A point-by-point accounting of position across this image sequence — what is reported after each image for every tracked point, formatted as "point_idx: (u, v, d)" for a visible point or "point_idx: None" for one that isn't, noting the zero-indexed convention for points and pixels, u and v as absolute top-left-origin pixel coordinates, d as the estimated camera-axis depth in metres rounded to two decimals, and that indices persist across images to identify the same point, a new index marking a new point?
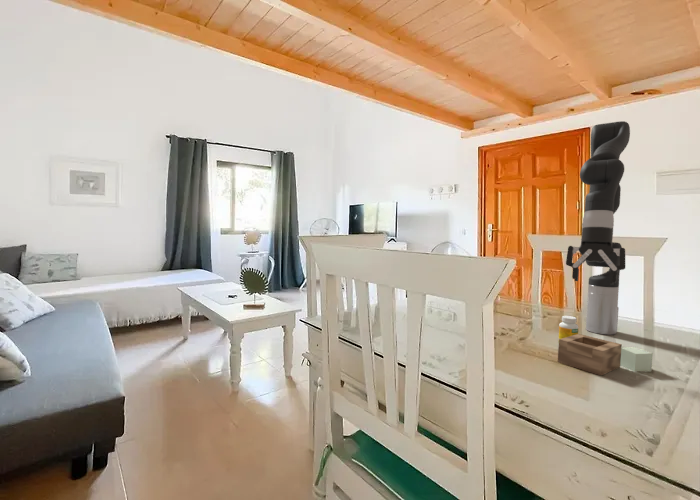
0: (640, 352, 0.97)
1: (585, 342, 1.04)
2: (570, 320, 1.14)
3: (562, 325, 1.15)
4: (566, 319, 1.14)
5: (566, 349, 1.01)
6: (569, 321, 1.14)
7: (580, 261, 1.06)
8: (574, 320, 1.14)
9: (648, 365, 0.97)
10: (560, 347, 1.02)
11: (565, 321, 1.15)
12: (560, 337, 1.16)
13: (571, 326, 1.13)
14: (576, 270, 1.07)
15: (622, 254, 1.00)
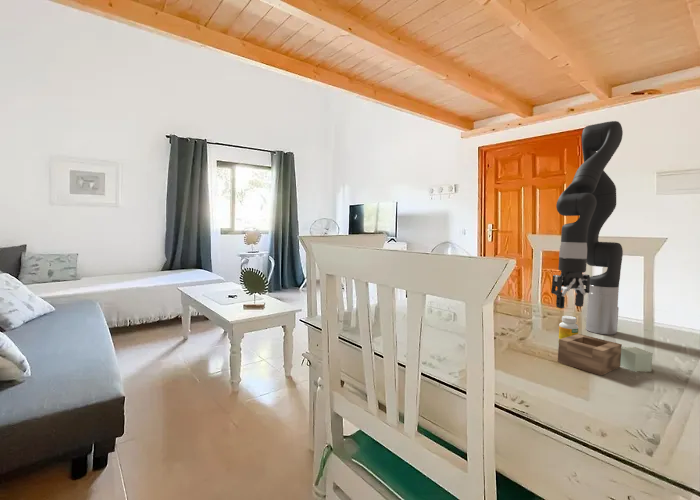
0: (640, 352, 0.97)
1: (585, 342, 1.04)
2: (570, 320, 1.14)
3: (562, 325, 1.15)
4: (566, 319, 1.14)
5: (566, 349, 1.01)
6: (569, 321, 1.14)
7: (567, 290, 1.12)
8: (574, 320, 1.14)
9: (648, 365, 0.97)
10: (560, 347, 1.02)
11: (565, 321, 1.15)
12: (560, 337, 1.16)
13: (571, 326, 1.13)
14: (563, 298, 1.12)
15: (588, 280, 1.16)
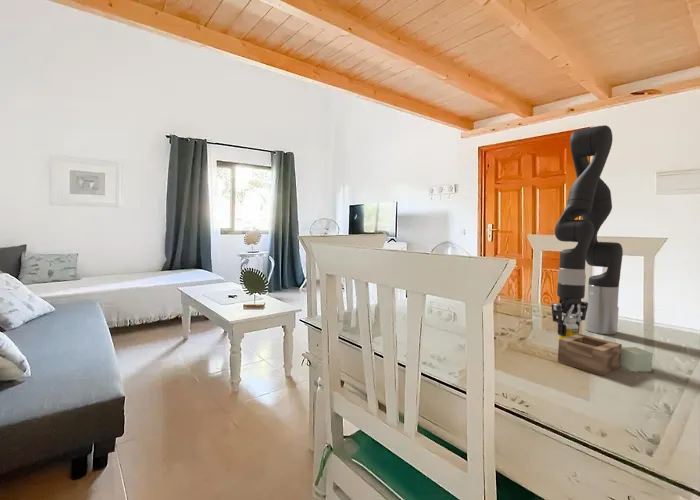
0: (640, 352, 0.97)
1: (585, 342, 1.04)
2: (570, 320, 1.14)
3: None
4: None
5: (566, 349, 1.01)
6: (569, 321, 1.14)
7: (568, 317, 1.13)
8: (574, 320, 1.14)
9: (648, 365, 0.97)
10: (560, 347, 1.02)
11: None
12: (560, 337, 1.16)
13: (571, 326, 1.13)
14: (565, 326, 1.14)
15: (586, 308, 1.17)
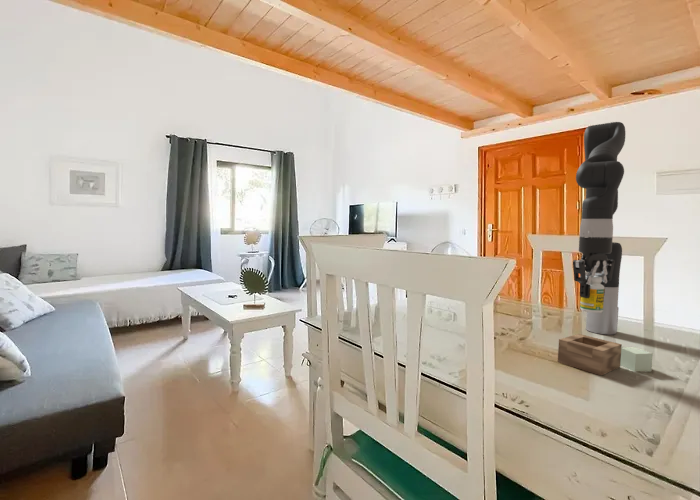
0: (640, 352, 0.97)
1: (585, 342, 1.04)
2: (595, 279, 0.97)
3: None
4: None
5: (566, 349, 1.01)
6: (593, 280, 0.98)
7: (592, 276, 0.97)
8: (599, 279, 0.97)
9: (648, 365, 0.97)
10: (560, 347, 1.02)
11: None
12: (582, 300, 1.00)
13: (595, 286, 0.97)
14: (589, 286, 0.97)
15: (612, 266, 1.00)
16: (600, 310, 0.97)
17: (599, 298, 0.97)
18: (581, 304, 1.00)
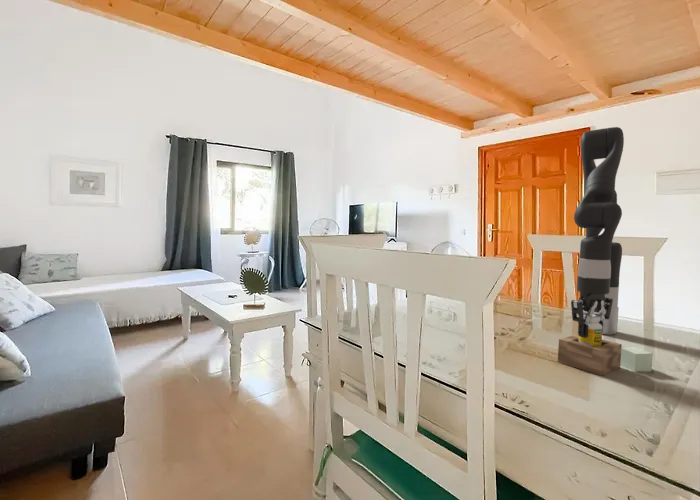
0: (640, 352, 0.97)
1: None
2: (593, 319, 0.98)
3: None
4: None
5: (566, 349, 1.01)
6: (591, 320, 0.98)
7: (590, 316, 0.98)
8: (597, 319, 0.98)
9: (648, 365, 0.97)
10: (560, 347, 1.02)
11: None
12: (581, 339, 1.00)
13: (593, 326, 0.98)
14: (587, 326, 0.98)
15: (610, 305, 1.01)
16: None
17: (597, 338, 0.98)
18: None
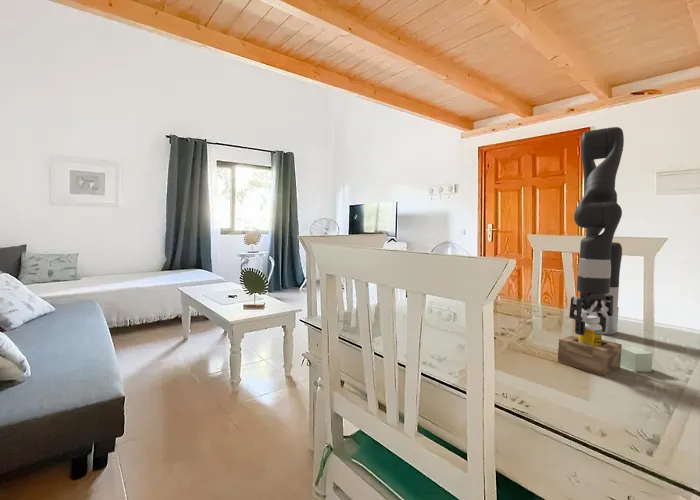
0: (640, 352, 0.97)
1: None
2: (593, 320, 0.98)
3: None
4: (588, 319, 0.99)
5: (566, 349, 1.01)
6: (591, 321, 0.98)
7: (588, 314, 0.97)
8: (597, 320, 0.98)
9: (648, 365, 0.97)
10: (560, 347, 1.02)
11: (587, 321, 0.99)
12: (581, 340, 1.00)
13: (593, 327, 0.98)
14: (584, 324, 0.97)
15: (611, 302, 1.01)
16: None
17: (597, 339, 0.98)
18: None
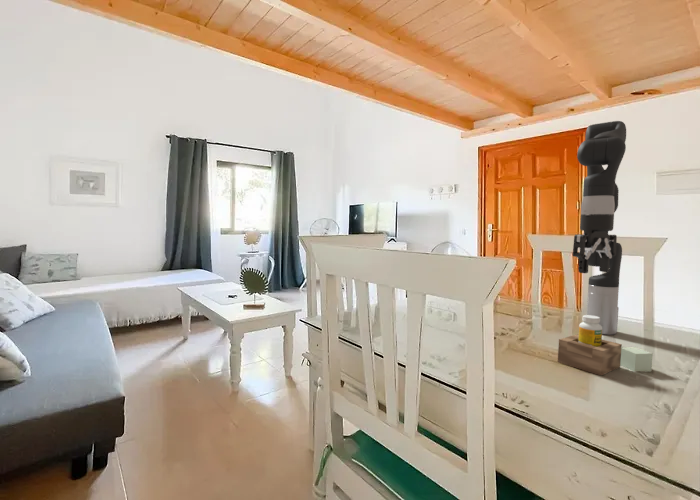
0: (640, 352, 0.97)
1: None
2: (593, 320, 0.98)
3: (583, 326, 1.00)
4: (588, 319, 0.99)
5: (566, 349, 1.01)
6: (591, 321, 0.98)
7: (592, 251, 0.96)
8: (597, 320, 0.98)
9: (648, 365, 0.97)
10: (560, 347, 1.02)
11: (587, 321, 0.99)
12: (581, 340, 1.00)
13: (593, 327, 0.98)
14: (587, 261, 0.97)
15: (615, 241, 1.00)
16: None
17: (597, 339, 0.98)
18: None
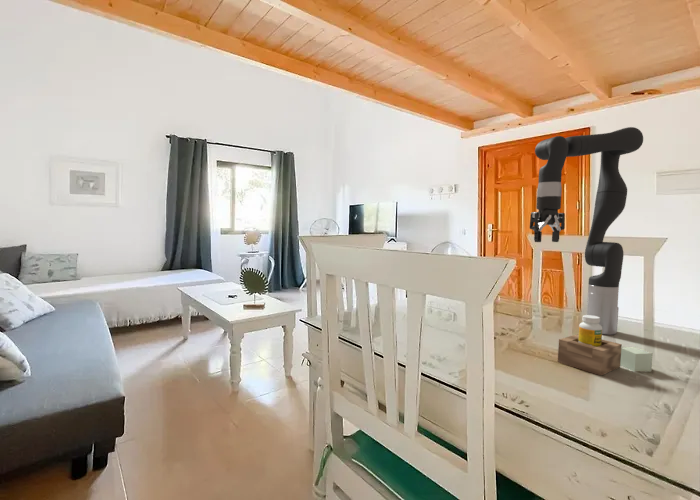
0: (640, 352, 0.97)
1: None
2: (593, 320, 0.98)
3: (583, 326, 1.00)
4: (588, 319, 0.99)
5: (566, 349, 1.01)
6: (591, 321, 0.98)
7: (544, 225, 1.25)
8: (597, 320, 0.98)
9: (648, 365, 0.97)
10: (560, 347, 1.02)
11: (587, 321, 0.99)
12: (581, 340, 1.00)
13: (593, 327, 0.98)
14: (540, 233, 1.25)
15: (563, 218, 1.28)
16: None
17: (597, 339, 0.98)
18: None
